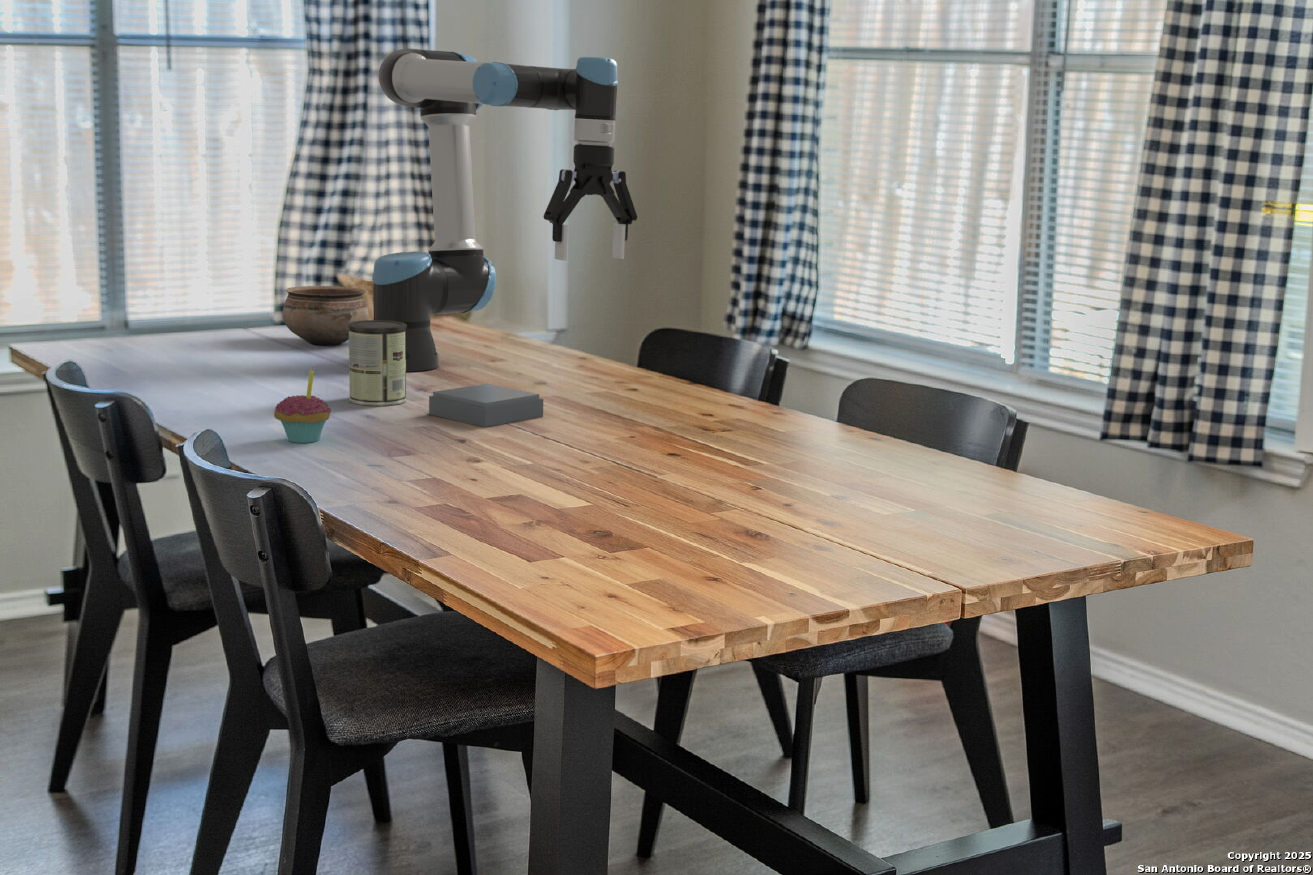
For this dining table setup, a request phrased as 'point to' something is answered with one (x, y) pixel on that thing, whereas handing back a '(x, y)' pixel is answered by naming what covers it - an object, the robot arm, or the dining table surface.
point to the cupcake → (303, 415)
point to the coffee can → (377, 362)
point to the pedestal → (485, 405)
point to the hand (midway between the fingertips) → (589, 259)
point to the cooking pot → (323, 313)
